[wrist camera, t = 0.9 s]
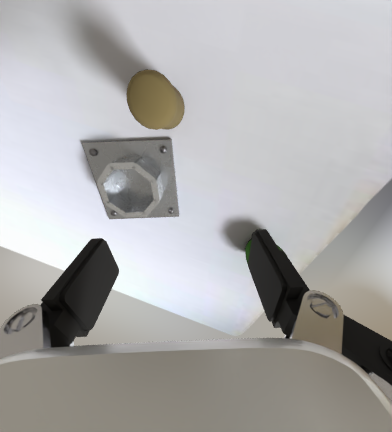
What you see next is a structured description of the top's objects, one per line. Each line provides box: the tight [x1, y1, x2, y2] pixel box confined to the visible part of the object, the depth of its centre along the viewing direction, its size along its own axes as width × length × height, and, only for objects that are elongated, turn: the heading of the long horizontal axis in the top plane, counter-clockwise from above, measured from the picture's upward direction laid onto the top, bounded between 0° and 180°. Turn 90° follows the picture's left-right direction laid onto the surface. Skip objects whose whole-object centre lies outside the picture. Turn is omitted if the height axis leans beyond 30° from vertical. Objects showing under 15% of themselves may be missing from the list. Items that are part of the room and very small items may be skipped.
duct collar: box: [82, 139, 179, 219], centre depth 30 cm, size 15×15×5 cm
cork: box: [127, 69, 184, 130], centre depth 21 cm, size 6×6×11 cm
